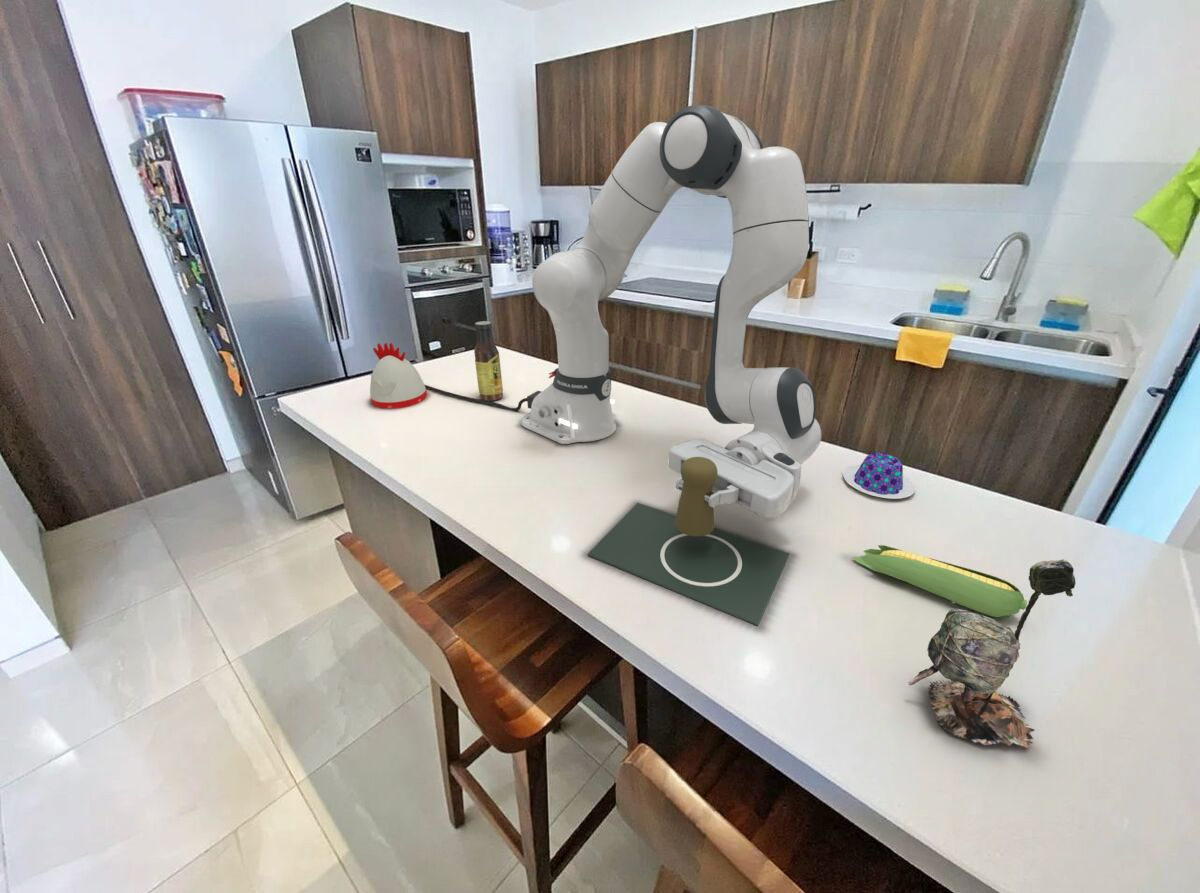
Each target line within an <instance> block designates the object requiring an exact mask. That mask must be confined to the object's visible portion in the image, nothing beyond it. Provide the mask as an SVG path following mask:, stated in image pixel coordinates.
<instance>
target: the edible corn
mask: <svg viewBox="0 0 1200 893" xmlns="http://www.w3.org/2000/svg"><path fill="white" fill-rule="evenodd" d="M877 547H878V548H879V549H876V548H869V549H865V550H863V553H864V555H861V556H851V559H853V560H854V561H855V562H856V563H858V564H860V565H862V566H864V567H866V568H868V569H870V570H871V571H874V572H876V573H879V574H882V575H885V576H887V577H890V578H892V579H896V580H899V581H901V582H904V583H907V584H908V585H911V586H913V587H916V588H918V589H921V590H923V591H925V592H927V593H930V594H933V595H935V596H937V597H940V598H942V599H944V600H947V601H949V602H950V603H952V601H956V602H955V603H954V604H956V605H958V606H961V607H964V608H967V609H969V610H972V611H973V612H977V613H978V614H981V615H984V616H987V617H988V616H989V617H990V618H991V617H992V618H1005V617H1010V616H1012V615H1013V616H1014V615H1016V614H1018V613H1019V612H1020V611H1021V610H1023V611H1025V610H1026V607H1027V605H1028V600H1027V599H1025V598H1024V594H1023V593H1022V592H1021V590H1020V589H1019V588H1018V587H1017V586H1016V585H1015V584H1012V583H1011V582H1009V581H1007V580H1005V579H1002V578H1000V577H998V576H994V575H991V574H987V573H984V572H982V571H978V570H974V569H970V568H967V567H964V566H960V565H956V564H953V563H949V562H947V561H946V562H945V561H942V560H938V559H934V558H931V557H927V556H924V555H921V554H917V553H913V552H909V551H905V550H902V549H898V548H895V547H892V546H889V545H888V546H887V545H885V544H883V545H882V544H881V545H877Z"/></svg>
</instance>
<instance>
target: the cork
mask: <svg viewBox="0 0 1200 893" xmlns="http://www.w3.org/2000/svg"><path fill="white" fill-rule="evenodd" d="M717 473H718V471H717V467H716V465H715V463H714V462H713V461H711V460H710V459H707V458H704V457H692V458H689V459H687V460H686V461H685V462H684V463H683V465H682V467H681V474H680V477H682V480H683V481H684V482H683V487H682V491H681V490H680V496H679V499H678V505H677V509H676V512H675V515H676V517H675V521H674V523H675V527H676V528H677V529H678V530H679V531H680V532H681V533H684V534H686V535H689V536H705V535H708V534H710V533H711V532H712V531H713V530H714V528H715V525H716V524H715V511H714V510H715V506H714V507H710V506H709V505H707V504H705V503H704V495H705V494H706V493H708V492H710V491H711V490H713V485H712V484H713V483H714V482H715V480H716V478H717Z"/></svg>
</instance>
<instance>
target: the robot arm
mask: <svg viewBox="0 0 1200 893" xmlns="http://www.w3.org/2000/svg"><path fill="white" fill-rule="evenodd" d="M681 188H686V189H690V190H692V191H694V192H696V193H698V194H701V195H705V196H716V197H719V198H723V199H727V202H728V203H729V206H730V211H731V223H732V249H731V255H730V259H729V263H728V266H727V269H726V272H725V273H724V275H723V276H722V277H721V278H720V280H719V282H718V285H717V289H716V294H715V301H714V311H713V322H712V334H711V335H712V336H711V347H710V360H709V369H708V375H707V378H706V382H705V387H704V391H703V392H704V393H703V398H704V404H705V406H706V407H705V408H706V409H707V411H708V412H709V414H710V416H711V417H712V418H713V419H714V420H715V421H716V422H717V423H719V424H722V425H742V424H746V425H753V429H752V430H751V431H750V432H747V433H745V434H743V435H741V436H739V437H737V438H735V439H732V440H731V441H730V442H728V443H727V444H726V446H724V447H722V446H720V445H717V444H715V443H713V442H711V441H709V440H706V439H703V438H696V439H692V440H687V441H684V442H681V443H678V444H676V445H673V446H671V447H670V448H669V450H668V458H667V459H668V460H667V462H668V468H669V469H670V470H672V471H674V472H676V473H678V474H679V475H681V467H682V465H683V463H684V462H685V461H686V460H687V459H689V458H692V457H704V458H707V459H710V460H711V461H713V462H714V463H715V465H716V467H717V471H718V473H717V478H716V480H715V482H714V483H713V484H712V485H713V490H711V491H710V492H708V493H706V494H705V495H704V503H705V504H707V505H709V506H710V507H714V508H715V507H716V506H718V505H727V504H729V505H730V504H731V505H732V504H734V503H735V504H737V505H739V506H741V507H743V508H745V509H747V510H749V511H751V512H752V513H754V514H757V515H758V516H760V517H762V518H765V519H776V518H778V517H779V516H780V515H781V514H783V513H784V512H785V511H786V510H787V509H788V508H789V507H790V505H791V503H793V502H794V501H795V500H796V497H797V494H798V492H799V488H800V484H801V476H802V464H804V463H805V462H806V461H807V460H809V459H810V458H811V457H812V456H813V455H814V454H815V452H816V451H817V449H818V448H819V447H820V444H821V441H822V429H821V426H820V423H819V421H818V420H817V419H816V413H817V397H816V392H815V389H814V387H813V385H812V383H811V380H810V379H809V378H808V377H807V376H806V374H805V373H804V372H803V371H802V370H800V369H799V368H797V367H793V366H792V367H783V366H782V367H781V366H780V367H779V366H778V367H745V365H744V363H743V357H744V345H745V337H746V328H747V321H748V318H749V315H750V313H751V311H753V309H754V308H755V306H757V305H758V304H759V303H760V302H761V301H763V300H765V298H767V297H768V296H770V295H772V294H774V293H775V292H777V291H779V290H781V289H782V288H783V287H785V286H786V285H788V284H789V283H790V282H791V281H792V280H793V279H794V278H795V277H796V276H797V275H798V273H799V272H800V271H801V269H802V268H803V266H804V264H805V263H806V261H807V257H808V252H809V246H810V245H809V244H810V225H809V224H810V223H809V220H810V219H809V203H808V202H809V201H808V194H807V186H806V180H805V175H804V170H803V165H802V161H801V159H800V156H798V154H797V153H796V152H795V151H794V150H792V149H790V148H788V147H784V146H777V145H776V146H768V147H764V144H763V142H762V140H761V138H760V137H759V135H758V134H757V133H756V131H755V130H753V129H751V128H750V127H748V126H747V125H746V123H744V122H743V121H742V120H740V119H739V118H737V117H736V116H734V115H732V114H727V113H725V112H722V111H721V110H719V109H718V108H716V107H714V106H711V105H707V104H692V105H688V106H685V107H683V108H681V109H680V110H678V111H677V112H676V113H674V115H673V116H671V118H669V120H668V121H667V122H664V121H654V122H651V123H649V124H648V125H646V126H645V127H644V128H643V129H642V130H641V131H640V133H638V135H637V136H636V137H635V138H634V140H633V141H632V142H631V143H630V145H629V146H627V149H626V150H625V151H624V152H623V154H622V155H621V157H620V158H619V159H618V161H617V162H616V164H615V166H614V168H613V169H612V170H611V172H610V174H609V175H608V177H607V179H606V180H605V182H604V184H603V186H602V187H601V189H600V191H599V192H598V194H597V196H596V197H595V199H594V200H593V202H592V204H591V205H590V207H589V210H588V222H587V226H586V229H585V232H584V235H583V237H582V239H581V241H580V242H579V243H578V244H577V245H576V246H575V247H574V248H572V249H568V250H563V251H560V252H559V251H558V252H555V253H554V254H552V255H550V256H548V257H547V258H546V259H545V260H543V261H541V263H539V264H538V265H537V267H536V268H535V270H534V272H533V275H532V283H531V285H532V286H531V287H532V291H533V294H534V296H535V298H536V300H537V302H538V303H539V305H541V306H542V308H544V309H545V310H546V312H547V314H548V315H549V318H550V321H551V323H552V326H553V329H554V335H555V337H556V338H555V341H556V349H557V350H556V351H557V361H558V362H557V366H558V367H556V368H555V369H554V370H553V371H551V372H549V373H548V375H549V376H548V378H549V379H552V378H553V377H554V378H553V381H552V383H551V384H550V385H549V386H547V387H546V388H544V389H543V390H542V391H541V390H536V391H534V392H532V393H531V394H529V395H528V396H526V397H524V398H522V399H520V400H519V402H518V405H517V406H516V407H509V406H507V405H504V404H501V403H499V402H494V401H485V400H482V399H480V398H474V397H470V396H465V395H461V394H457V393H452V392H449V391H445V390H442V389H439V388H436V387H434V386H430V385H427V384H424V385H425V388H426V390H431V391H433V392H436V393H440V394H443V395H447V396H450V397H452V398H453V397H454V398H457V399H461V400H466V401H470V402H474V403H479V404H484V405H490V406H493V407H498V408H501V409H504V410H507V411H511V412H518V411H520V410H521V408H522V405H523V403H525V402H527V403H526V404H527V409H530V412H529V413H527V414H526V415H525V416H524V417H523V418H522V420H521V427H523V428H525V429H528V430H529V431H531V432H534V433H536V434H539V435H540V436H543V437H545V438H546V439H550V440H552V441H554V442H555V443H558V444H561V445H569V444H574V443H581V442H583V443H584V442H585V443H586V442H595V441H599V440H603V439H606V438H608V437H610V436H612V435H613V434H614V433H615V432H616V430H617V424H616V421H615V418H614V412H613V408H612V405H613V404H615V399H611V393H612V392H611V391H612V370H611V367H610V335H609V333H608V331H607V329H606V328H605V327H604V326H603V324H602V321H601V316H600V312H599V302H600V301H602V300H604V299H606V298H608V297H610V295H612V294H613V293H614V292H615V291H616V290H617V289H618V288H619V287H620V286H621V285H622V282H623V280H624V276H625V273H626V271H627V269H628V267H629V264H630V263H631V260H632V258H633V256H634V254H635V253H636V250H637V249H638V247H639V245H640V244H641V242H642V241H643V239H644V238H645V236H646V235H647V234H648V232H649V231H650V230H651V228H652V227H653V225H654V224H655V222H656V221H657V220H658V218H659V216H660V215H661V214H662V213H663V211H664V209H665V208H666V206H667V205H668V203H669V202H670V200H671V199H672V198H673V196H674V195H675V194H676V193H677V192H678V191H679V190H680V189H681ZM683 482H684V481H683V480H682V477H681V476H679V477H678V478H676V481H675V488H676V489H677V490H679V491H680V492H681V491H682V487H683Z"/></svg>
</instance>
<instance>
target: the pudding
mask: <svg viewBox="0 0 1200 893" xmlns="http://www.w3.org/2000/svg"><path fill="white" fill-rule="evenodd" d="M842 477H843V479H844V480H845V482H846V483H847V484H848V485H850V486H851V487H852V488H853V489H856V490H858V491H859V492H862V493H864V494H867V495H870V496H873V497H877V498H882V499H883V498H884V499H891V500H892V499H894V500H895V499H897V500H898V499H905V498H909V497H910V496H912V495H913V494H914V493H915V492H916V485H915V484H914V482H913V481H912V480H911V479H910V478H909V477H907V476H906V475H904V467H903V463H902V462H901V461H900V459H899V458H897V457H895V456H892V455H890V454H887V453H880V452H873V453H870V454H868V455H866V456H865V458H864V459H863V461H862V463H860V464H853V465H850V466H848V467H847V468H845V469H844V470H843V472H842Z"/></svg>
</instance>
